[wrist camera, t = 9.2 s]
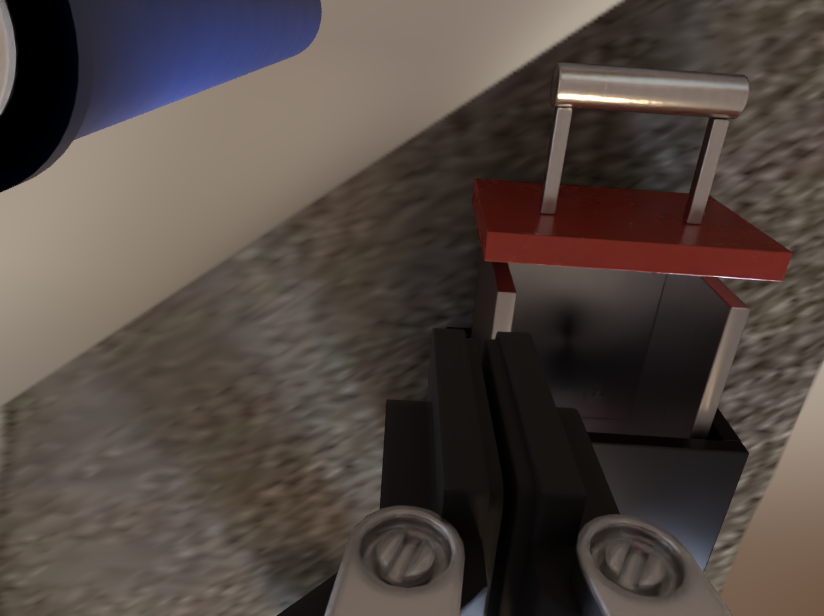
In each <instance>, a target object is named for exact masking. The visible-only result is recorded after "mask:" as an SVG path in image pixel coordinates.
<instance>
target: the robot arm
mask: <svg viewBox="0 0 824 616" xmlns="http://www.w3.org/2000/svg"><path fill="white" fill-rule="evenodd" d="M18 68H19V45H18V39H17V32H16V26H15V21H14V18H13V15H12V12H11V9H10V6H9V2H8V0H0V117H1V116H2V115H3V114H4V112H5V110H6V108H7V106H8V104H9V102H10V100H11V98H12V96H13V94H14V89H15V85H16V81H17V76H18ZM277 616H733V615H732V613H731V612H730V610H729V609H728V607H727V606H726V604H725V603H724V602H723V600H722V599H721V597H720V596H719V594H718V593H717V591H716V590H715V588H714V587H713V585H712V584H711V583H710V581H709V580H708V578H707V577H706V575H705V574H704V572H703V571H702V569H701V568H700V566H699V565H698V564H697V562H696V561H695V559H694V558H693V556H692V555H691V553H690V552H689V551H688V550H687V549H686V547H685V546H684V545H683V544H682V543H681V542H680V541H679V540H678V539H677V538H676V537H675V536H673V535H672V534H671V533H669V532H668V531H667V530H665V529H664V528H662V527H660V526H658V525H656V524H654V523H652V522H650V521H648V520H646V519H642V518H638V517H634V516H630V515H621V514H620V512H619V510H618V507H617V505H616V502H615V500H614V497H613V495H612V492H611V490H610V487H609V485H608V483H607V480H606V478H605V475H604V473H603V470H602V468H601V465H600V463H599V460H598V458H597V455H596V453H595V450H594V448H593V445H592V443H591V440H590V438H589V436H588V433H587V431H586V428H585V426H584V423H583V421H582V418H581V416H580V414H579V412H578V410H577V409H575V408H564V407H556V405H555V403H554V400H553V397H552V394H551V391H550V388H549V386H548V383H547V380H546V377H545V374H544V371H543V369H542V366H541V363H540V360H539V357H538V355H537V352H536V349H535V346H534V343H533V340H532V338H531V335H530V333H522V332H501V331H498V332H497V333H496V337H495V339H485V341H484V345H483V353H482V361H481V360H480V355H479V350H478V344H477V340H476V338H466V335H465V331H464V330H459V329H438V328H433V332H432V342H431V355H430V367H429V380H428V393H427V401H408V400H387V404H386V420H385V435H384V451H383V467H382V483H381V499H380V510H377V511H375V512H373V513H371V514H369V515H367V516H366V517H365V518H364V519H363V520H361V521H360V522H359V523H358V524H357V525H356V526H355V528H354V530H353V531H352V533H351V535H350V537H349V539H348V542H347V545H346V548H345V551H344V555H343V558H342V561H341V564H340V567H339V571H338V573H336V574H335V575H333V576H332V577H330V578H329V579H328V580H326V581H325V582H323V583H322V584H321V585H319V586H318V587H316V588H315V589H314V590H312V591H311V592H309V593H308V594H307V595H305V596H304V597H302V598H301V599H300V600H298V601H297V602H295V603H294V604H292V605H291V606H290V607H288V608H287V609H285V610H284V611H283V612H281V613H280V614H278V615H277Z"/></svg>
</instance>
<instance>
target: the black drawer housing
mask: <svg viewBox="0 0 824 616" xmlns="http://www.w3.org/2000/svg"><path fill="white" fill-rule="evenodd" d="M446 329H459V330H464V331H465V335H466V338H471V332H472V329H468V328H453V327H447V328H446ZM587 433H588V436H589V438H590V440H591V443H592V445H593V448H594V450H595V453H596V455H597V458H598V460H599V463H600V465H601V468H602V470H603V473H604V475H605V478H606V480H607V483H608V485H609V487H610V490H611V492H612V495H613V497H614V500H615V502H616V505H617V507H618V510H619V512H620V514H621V515H630V516H634V517H638V518H642V519H646V520H648V521H650V522H652V523H654V524H656V525H658V526H660V527H662V528H664V529H665V530H667V531H668V532H669V533H671V534H672V535H673V536H675V537H676V538H677V539H678V540H679V541H680V542H681V543H682V544H683V545H684V546H685V547H686V549H687V550H688V551H689V552H690V553H691V555H692V556H693V558H694V559H695V561H696V562H697V564H698V565H699V566H700V568H701V569H702V571H703V572H704V571H705V568H706V566H707V563H708V561H709V558H710V555H711V553H712V550H713V547H714V545H715V542H716V540H717V537H718V534H719V532H720V529H721V526H722V524H723V521H724V518H725V516H726V513H727V511H728V508H729V505H730V503H731V500H732V497H733V495H734V492H735V490H736V487H737V484H738V482H739V479H740V476H741V474H742V471H743V468H744V466H745V463H746V461H747V458H748V455H749V452H748V451H747V449H746V448H745V446H744V445H743V444H742V443H741V440H740V439H739V437H738V436H737V435H736V433H735V432H734V430H733V429H732V427H731V426H730V425H729V423H728V422H727V420H726V419H725V418H724V416H723V415H722V413H721V412H720V411H719V409H718V408H717V410H716V413H715V416H714V419H713V422H712V425H711V428H710V431H709V434H708V437H707V440H704V439H689V438H674V437H660V436H645V435H630V434H615V433H601V432H587Z"/></svg>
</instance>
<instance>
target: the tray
mask: <svg viewBox="0 0 824 616" xmlns="http://www.w3.org/2000/svg"><path fill="white" fill-rule="evenodd" d="M748 96H749V80H748V78H747V77H746V76H745V75H740V74H726V73H712V72H697V71H683V70H668V69H654V68H639V67H625V66H611V65H596V64H582V63H567V62H558V63H557V64H556V66H555V68H554V71H553V75H552V80H551V87H550V103H551V106H553V107H555V110H554V117H553V123H552V129H551V136H550V142H549V148H548V155H547V161H546V167H545V174H544V180H543V183H529V182H514V181H499V180H485V179H474V188H473V197H472V205H473V209H474V214H475V219H476V224H477V229H478V234H479V238H480V243H481V257H480V265H479V274H478V282H477V290H476V299H475V307H474V316H473V324H472V332H471V338H476V340H477V344H478V350H479V355H480V360H481V361H482V353H483V345H484V341H485V339H495V337H496V333H497V332H498V331H501V332H522V333H530V335H531V338H532V340H533V343H534V346H535V349H536V352H537V355H538V357H539V360H540V363H541V366H542V369H543V371H544V374H545V377H546V380H547V383H548V386H549V388H550V391H551V394H552V397H553V400H554V403H555V405H556V407H564V408H575V409H577V410H578V412H579V414H580V416H581V418H582V421H583V423H584V426H585V428H586V431H587V432H601V433H615V434H630V435H645V436H660V437H674V438H689V439H704V440H707V437H708V434H709V431H710V428H711V425H712V422H713V419H714V416H715V413H716V410H717V407H718V404H719V401H720V398H721V395H722V392H723V389H724V386H725V383H726V380H727V378H728V375H729V372H730V369H731V366H732V363H733V360H734V357H735V354H736V351H737V348H738V345H739V342H740V339H741V336H742V333H743V330H744V327H745V324H746V321H747V318H748V315H749V312H750V308H749V307H748V306H747V305H746V304H745V303H744V302H742V301H741V300H740V299H739V298H738V297H737V296H736V295H735V294H734V293H733V292H732V291H731V290H730V289H729V288H728V287H727V286H726V285H725V284H724V283H723V282H722V281H721V280H719V279H718V278H717V277H725V278H739V279H754V280H768V281H783V278H784V275H785V273H786V270H787V267H788V264H789V261H790V258H791V256H792V252H791V251H789V250H788V249H786V248H785V247H784V246H782V245H781V244H779V243H778V242H776V241H775V240H773V239H772V238H770V237H769V236H768V235H766V234H765V233H763V232H762V231H760V230H759V229H757V228H756V227H755V226H753V225H752V224H750V223H749V222H747V221H746V220H744V219H743V218H741V217H740V216H739V215H737V214H736V213H734V212H733V211H731V210H730V209H728V208H727V207H725V206H724V205H723V204H721V203H720V202H718V201H717V200H715V199H714V198H712V197H711V196H709V193H710V189H711V186H712V182H713V179H714V175H715V171H716V168H717V164H718V161H719V157H720V154H721V150H722V146H723V143H724V139H725V136H726V132H727V129H728V125H729V120H728V119H735V118H737V117H738V116H739V115H740V114H741V113H742V112H743V110H744V108H745V106H746V103H747V100H748ZM571 108H578V109H593V110H607V111H622V112H636V113H651V114H665V115H680V116H694V117H709V120H708V124H707V128H706V132H705V135H704V139H703V143H702V147H701V150H700V154H699V158H698V162H697V166H696V169H695V173H694V177H693V181H692V184H691V188H690V192H689V194H688V193H674V192H659V191H645V190H630V189H616V188H601V187H587V186H572V185H560V182H561V176H562V171H563V165H564V159H565V153H566V147H567V141H568V135H569V129H570V124H571V118H572V112H573V110H572V109H571Z"/></svg>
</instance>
